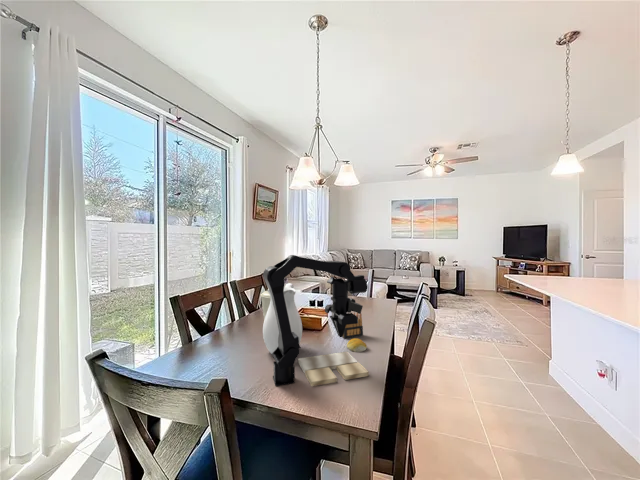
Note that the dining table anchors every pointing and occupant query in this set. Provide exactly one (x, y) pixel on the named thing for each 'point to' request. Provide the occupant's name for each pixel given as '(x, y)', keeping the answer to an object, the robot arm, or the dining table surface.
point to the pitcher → (271, 323)
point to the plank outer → (352, 371)
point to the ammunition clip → (354, 329)
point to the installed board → (326, 361)
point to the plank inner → (320, 376)
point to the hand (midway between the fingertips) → (340, 336)
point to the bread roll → (356, 345)
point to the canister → (265, 302)
